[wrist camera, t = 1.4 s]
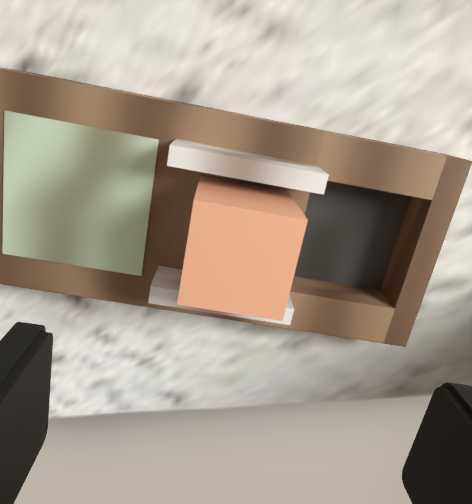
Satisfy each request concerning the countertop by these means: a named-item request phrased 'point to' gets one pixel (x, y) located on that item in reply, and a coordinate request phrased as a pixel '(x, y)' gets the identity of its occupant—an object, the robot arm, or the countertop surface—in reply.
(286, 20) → the countertop surface
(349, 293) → the track
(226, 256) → the block
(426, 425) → the robot arm
